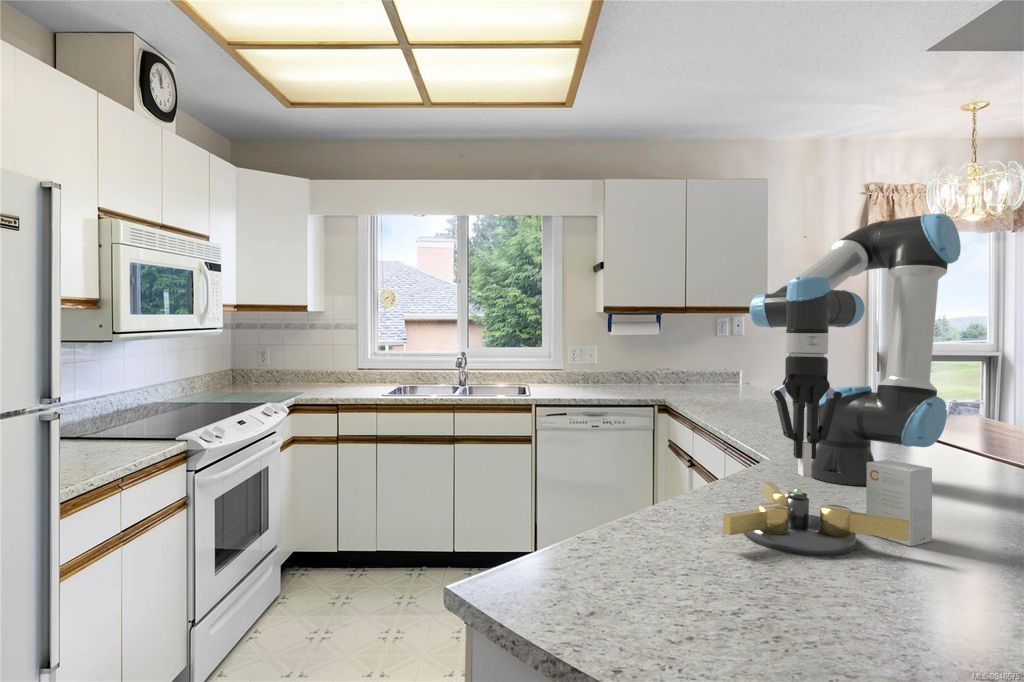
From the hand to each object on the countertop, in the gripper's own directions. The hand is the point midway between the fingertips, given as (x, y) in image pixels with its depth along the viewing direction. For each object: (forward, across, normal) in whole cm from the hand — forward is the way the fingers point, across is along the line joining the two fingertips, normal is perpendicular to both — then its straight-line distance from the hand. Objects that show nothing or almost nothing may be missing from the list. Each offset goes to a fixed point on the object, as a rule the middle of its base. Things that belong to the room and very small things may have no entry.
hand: (804, 475), depth 119 cm
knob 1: (+7, -14, -17) cm, 23 cm away
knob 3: (+6, +3, -17) cm, 19 cm away
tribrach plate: (+9, -6, -12) cm, 16 cm away
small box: (+9, +12, -10) cm, 18 cm away
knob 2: (+6, -6, -2) cm, 9 cm away
